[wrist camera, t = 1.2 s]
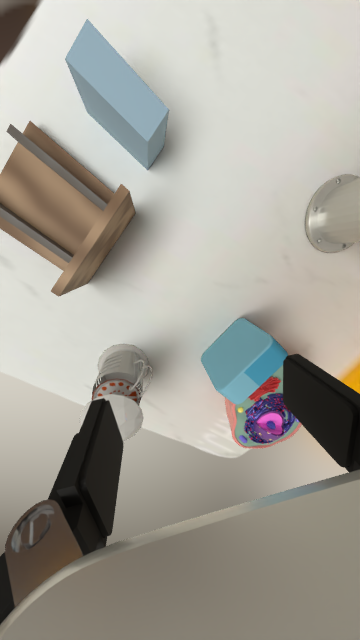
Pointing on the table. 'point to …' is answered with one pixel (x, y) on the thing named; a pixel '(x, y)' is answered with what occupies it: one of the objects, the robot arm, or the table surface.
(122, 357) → the french press
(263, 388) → the cell model
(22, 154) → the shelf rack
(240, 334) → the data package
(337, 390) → the robot arm
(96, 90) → the light blue rectangular block
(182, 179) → the table surface
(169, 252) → the table surface
